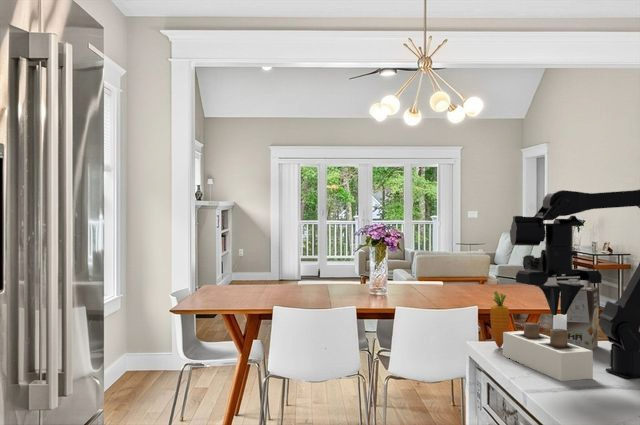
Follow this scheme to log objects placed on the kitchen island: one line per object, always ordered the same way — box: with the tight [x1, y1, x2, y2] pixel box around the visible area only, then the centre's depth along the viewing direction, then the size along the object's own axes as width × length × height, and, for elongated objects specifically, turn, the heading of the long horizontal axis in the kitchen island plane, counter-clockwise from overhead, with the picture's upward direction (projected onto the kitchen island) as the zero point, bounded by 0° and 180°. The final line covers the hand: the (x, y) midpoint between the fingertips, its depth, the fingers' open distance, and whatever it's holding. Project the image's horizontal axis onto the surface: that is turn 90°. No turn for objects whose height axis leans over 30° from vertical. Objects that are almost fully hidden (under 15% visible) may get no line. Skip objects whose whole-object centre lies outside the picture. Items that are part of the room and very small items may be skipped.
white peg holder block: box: [502, 330, 594, 382], centre depth 130 cm, size 22×8×6 cm, turn 14°
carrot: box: [489, 290, 510, 349], centre depth 149 cm, size 5×5×15 cm
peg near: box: [549, 328, 568, 349], centre depth 126 cm, size 4×4×6 cm
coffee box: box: [566, 286, 599, 352], centre depth 149 cm, size 9×6×16 cm
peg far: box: [523, 322, 541, 339], centre depth 135 cm, size 4×4×6 cm
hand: (558, 314), depth 126 cm, fingers open, 2 cm apart
